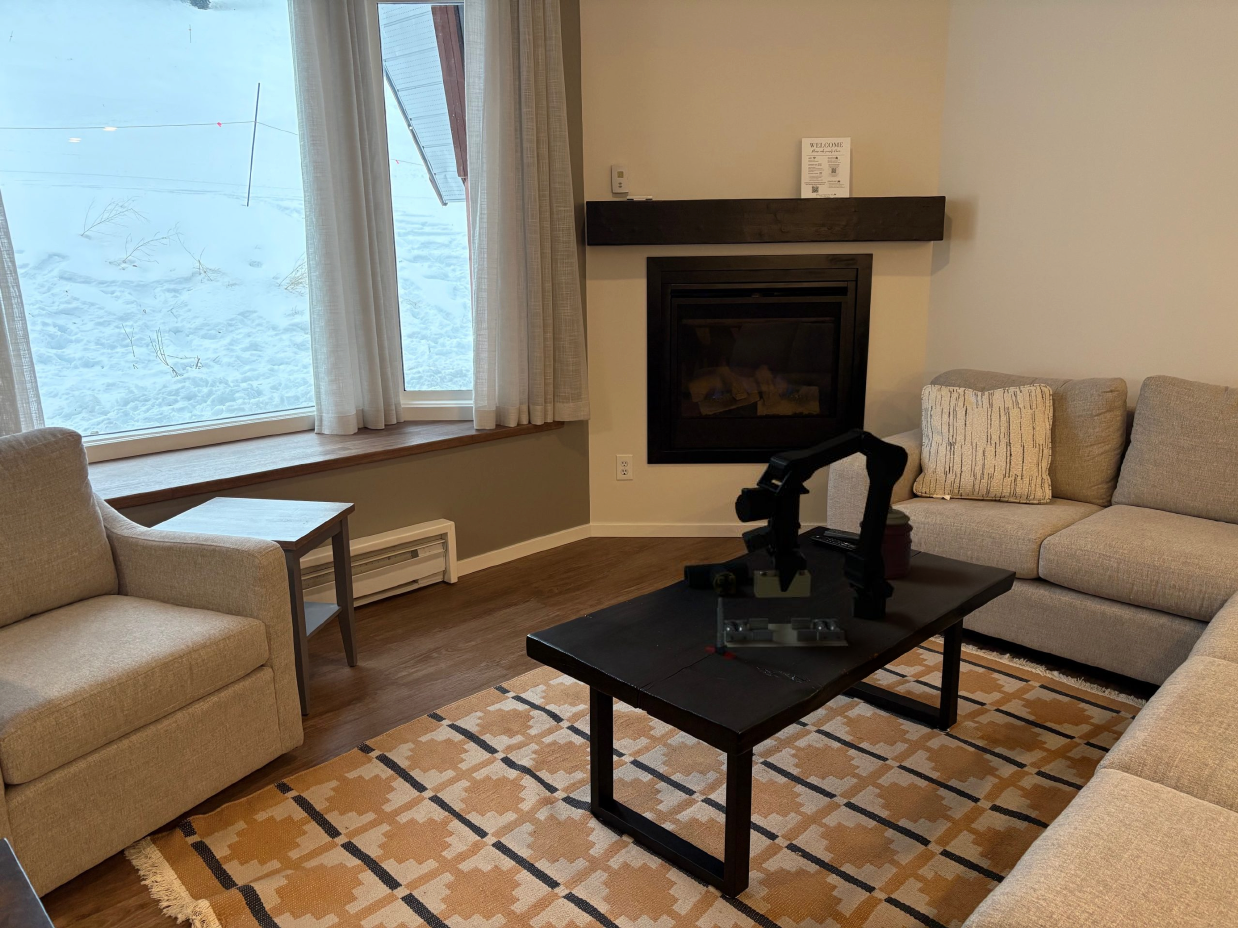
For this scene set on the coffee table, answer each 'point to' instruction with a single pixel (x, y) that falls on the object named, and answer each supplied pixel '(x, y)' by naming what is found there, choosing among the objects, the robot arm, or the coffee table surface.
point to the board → (783, 639)
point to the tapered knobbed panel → (770, 584)
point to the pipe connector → (717, 575)
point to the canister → (896, 544)
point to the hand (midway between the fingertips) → (782, 588)
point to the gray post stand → (720, 635)
